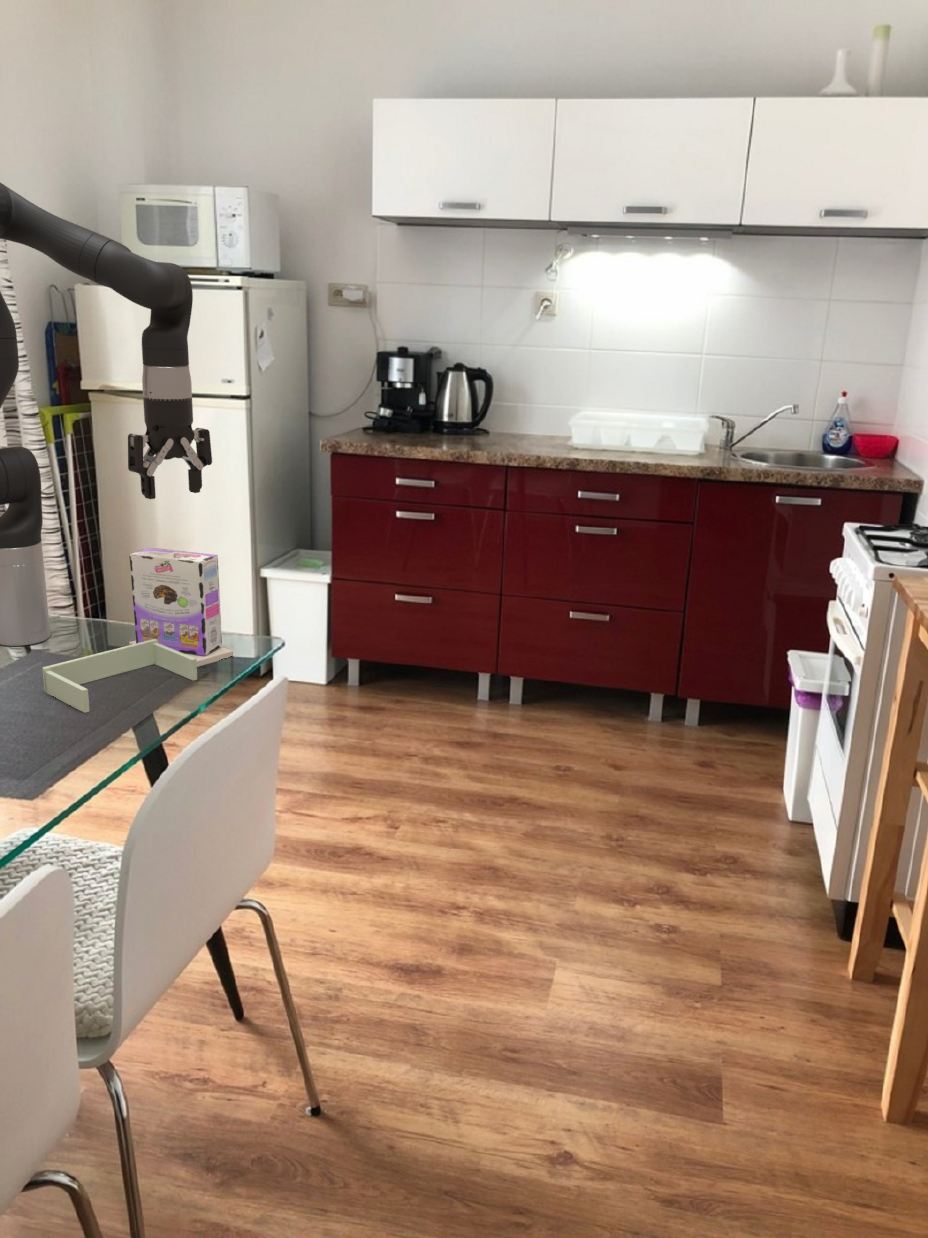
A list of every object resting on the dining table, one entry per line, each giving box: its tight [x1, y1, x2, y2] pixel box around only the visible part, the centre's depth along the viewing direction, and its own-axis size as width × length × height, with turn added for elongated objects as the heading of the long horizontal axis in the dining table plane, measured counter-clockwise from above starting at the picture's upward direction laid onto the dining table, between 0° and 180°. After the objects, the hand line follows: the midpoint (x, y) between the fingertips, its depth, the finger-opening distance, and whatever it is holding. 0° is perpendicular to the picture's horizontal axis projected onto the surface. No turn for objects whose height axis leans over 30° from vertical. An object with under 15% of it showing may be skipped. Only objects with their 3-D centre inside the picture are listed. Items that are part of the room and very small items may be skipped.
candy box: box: [129, 546, 223, 655], centre depth 176 cm, size 14×6×16 cm, turn 72°
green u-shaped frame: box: [42, 639, 198, 714], centre depth 163 cm, size 12×20×4 cm, turn 139°
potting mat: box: [128, 639, 234, 668], centre depth 179 cm, size 16×10×1 cm, turn 49°
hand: (172, 495), depth 171 cm, fingers open, 8 cm apart
